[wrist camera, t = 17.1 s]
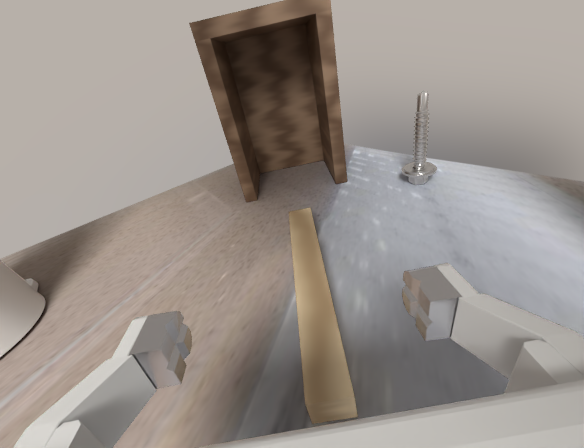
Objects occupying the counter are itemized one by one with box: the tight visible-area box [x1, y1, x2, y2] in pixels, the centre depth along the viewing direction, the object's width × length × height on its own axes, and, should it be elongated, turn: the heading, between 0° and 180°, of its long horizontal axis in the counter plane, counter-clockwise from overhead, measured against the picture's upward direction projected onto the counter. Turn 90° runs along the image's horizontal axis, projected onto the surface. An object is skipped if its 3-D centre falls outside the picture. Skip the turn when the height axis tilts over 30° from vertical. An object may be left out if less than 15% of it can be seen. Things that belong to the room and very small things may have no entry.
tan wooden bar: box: [289, 208, 358, 424], centre depth 27 cm, size 3×24×3 cm, turn 3°
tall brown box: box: [189, 0, 347, 202], centre depth 47 cm, size 18×15×26 cm
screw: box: [402, 91, 437, 185], centre depth 39 cm, size 13×5×5 cm
